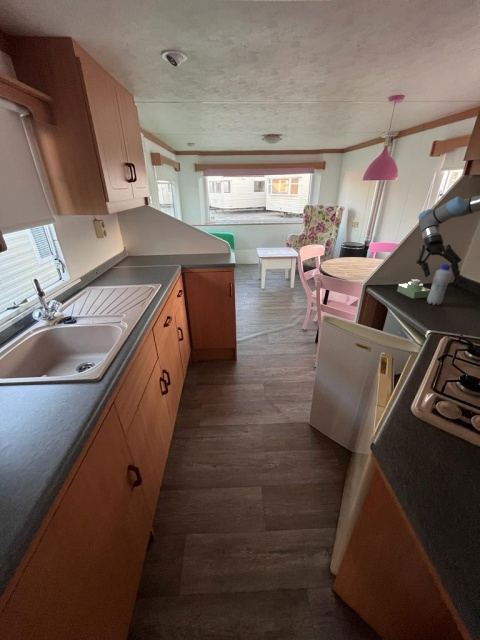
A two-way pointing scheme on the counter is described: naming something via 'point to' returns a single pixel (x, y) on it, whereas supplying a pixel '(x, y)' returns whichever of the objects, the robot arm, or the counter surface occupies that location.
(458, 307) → the counter surface
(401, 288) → the dispenser
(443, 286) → the bottle
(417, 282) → the pump
